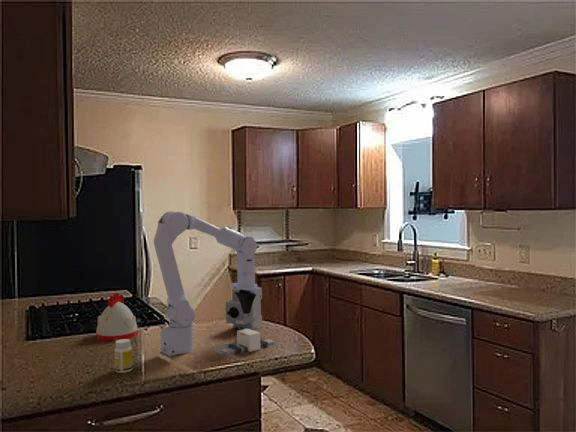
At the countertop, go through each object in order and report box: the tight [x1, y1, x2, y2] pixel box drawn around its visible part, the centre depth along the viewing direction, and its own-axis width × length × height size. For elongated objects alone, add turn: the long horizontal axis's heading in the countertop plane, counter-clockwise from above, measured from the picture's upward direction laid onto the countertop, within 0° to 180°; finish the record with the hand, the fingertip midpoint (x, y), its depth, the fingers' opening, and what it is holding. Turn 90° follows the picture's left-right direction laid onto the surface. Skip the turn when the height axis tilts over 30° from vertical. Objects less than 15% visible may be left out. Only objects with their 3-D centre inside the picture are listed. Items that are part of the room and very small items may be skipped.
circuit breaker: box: [224, 286, 263, 330], centre depth 189 cm, size 8×14×15 cm, turn 152°
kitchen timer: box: [95, 292, 139, 341], centre depth 185 cm, size 14×14×15 cm
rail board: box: [206, 337, 281, 358], centre depth 166 cm, size 20×12×2 cm, turn 129°
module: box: [236, 328, 261, 353], centre depth 164 cm, size 4×7×5 cm, turn 39°
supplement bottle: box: [114, 338, 134, 374], centre depth 147 cm, size 5×5×8 cm
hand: (246, 313), depth 173 cm, fingers closed
